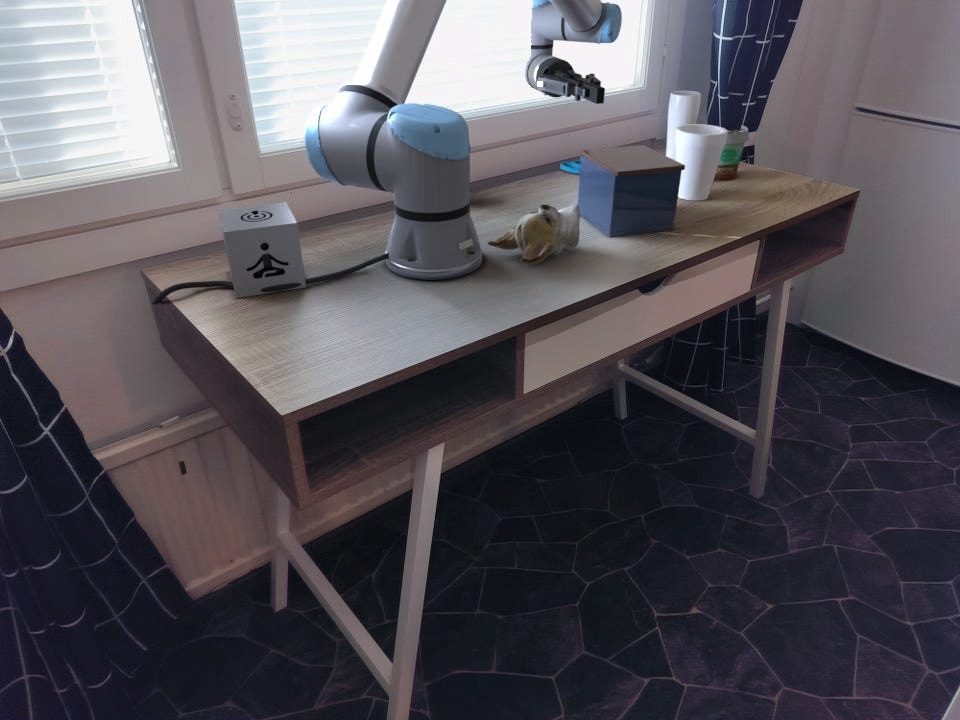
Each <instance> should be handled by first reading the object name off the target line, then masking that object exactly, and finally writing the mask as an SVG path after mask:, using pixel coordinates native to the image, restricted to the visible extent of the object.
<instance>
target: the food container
mask: <svg viewBox="0 0 960 720" xmlns="http://www.w3.org/2000/svg"><path fill="white" fill-rule="evenodd" d="M726 130H727V131H728V133H727V139H726V144H725V145H724V147H723V150H722V154H721V157H720V160H719V164H718V167H717V170H716V173H715V177H714V180H713V181H729V180H730V181H731V180H734V179H735V178H736V176H737V172H738V170H739V166H740V162H741V158H742V155H743V152H744V147H745V143H747V142H748V141H749V140H750V131H749V128H748V127H747V126H745V125H743V124H741V126H740V129H739V128H738V129H730V130H728V129H726Z"/></svg>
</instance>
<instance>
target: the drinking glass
mask: <svg viewBox="0 0 960 720" xmlns="http://www.w3.org/2000/svg"><path fill="white" fill-rule="evenodd" d="M701 101H702V93H701V92H699V91H694V90H673V91H671V92H670V94H669V101H668V108H667V125H666V126H667V127H666V146H665V156H667V157H669V158H671V159H673V160H675V161H676V141H675V137H676V130H677V128H678V127H679V126H681V125H686V124H698V119H699V114H700V107H701Z"/></svg>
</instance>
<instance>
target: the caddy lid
mask: <svg viewBox="0 0 960 720" xmlns="http://www.w3.org/2000/svg"><path fill="white" fill-rule="evenodd" d="M580 151H581V153H580V156H581V155H582V156H584V157H586V158H588V159H589V160H591V161H593V162H594V163H596V164H598V165H599V166H601V167H603V168H604V169H606V170H608V171H609V172H611V173H613V174H614V175H616V176H627V175H637V174H647V173H658V172H668V171H678V170H685V165H683V164H681V163H679V162H677V161H675V160H673V159H671V158H669V157H667V156H666V154H662V153H661V152H658V151H657V150H654V149H652V148H650V147H648V146H647V145H645V144H639V145H627V146H626V145H625V146H616V147H604V148H593V149H592V148H591V149H582V150H580Z"/></svg>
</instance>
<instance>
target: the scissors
mask: <svg viewBox="0 0 960 720" xmlns="http://www.w3.org/2000/svg"><path fill="white" fill-rule="evenodd" d="M580 162H581V159H574V160H572V161H563V162H561V163H560V165H559V166H560V169H561V170H562V171H565V172H568V173H572V174H576V175H577V174H578V175H580Z"/></svg>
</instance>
